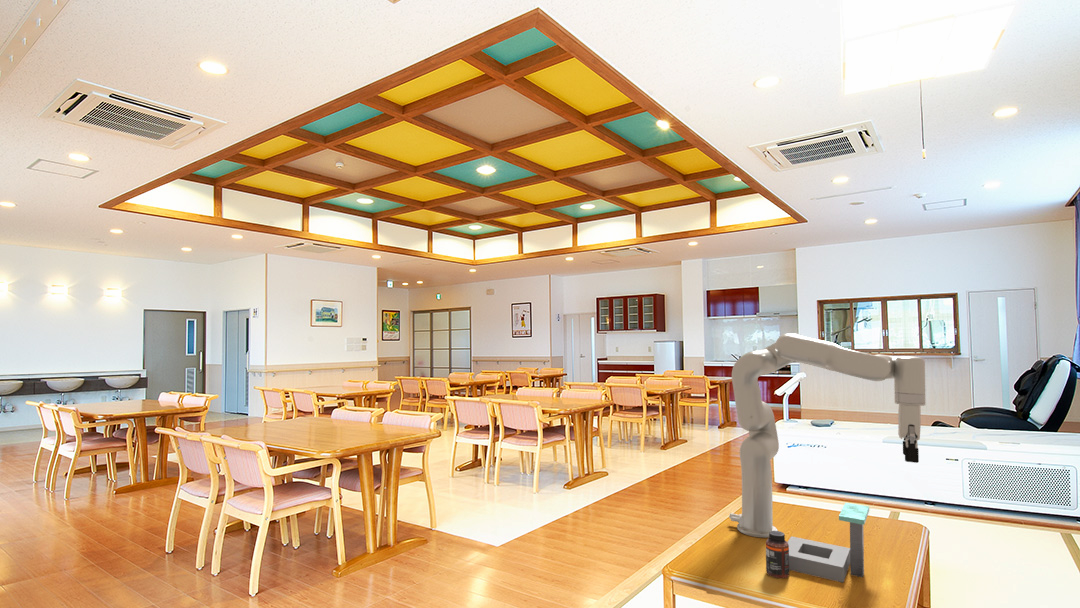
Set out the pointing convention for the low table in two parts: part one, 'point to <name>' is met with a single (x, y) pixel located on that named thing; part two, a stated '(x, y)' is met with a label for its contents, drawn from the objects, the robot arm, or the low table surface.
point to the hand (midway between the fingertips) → (910, 458)
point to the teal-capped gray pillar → (855, 535)
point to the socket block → (818, 559)
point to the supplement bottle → (777, 555)
